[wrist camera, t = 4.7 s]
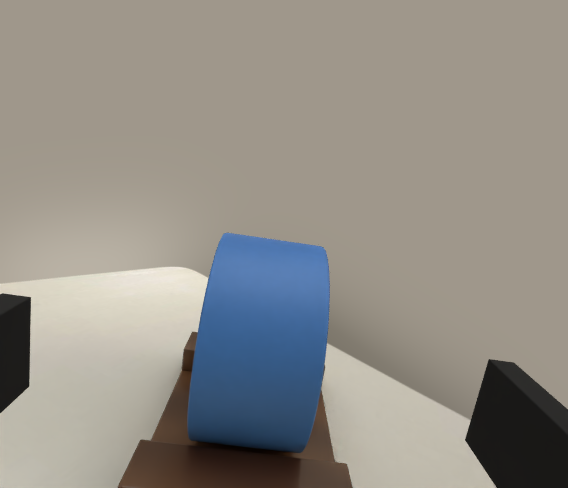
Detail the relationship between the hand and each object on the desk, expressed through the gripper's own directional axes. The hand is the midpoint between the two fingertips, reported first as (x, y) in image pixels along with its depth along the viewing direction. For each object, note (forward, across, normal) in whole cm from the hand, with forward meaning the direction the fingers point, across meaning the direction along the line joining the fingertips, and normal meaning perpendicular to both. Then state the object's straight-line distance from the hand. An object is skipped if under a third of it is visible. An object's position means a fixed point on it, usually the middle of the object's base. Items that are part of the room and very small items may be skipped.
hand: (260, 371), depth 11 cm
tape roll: (+8, 0, -8) cm, 12 cm away
